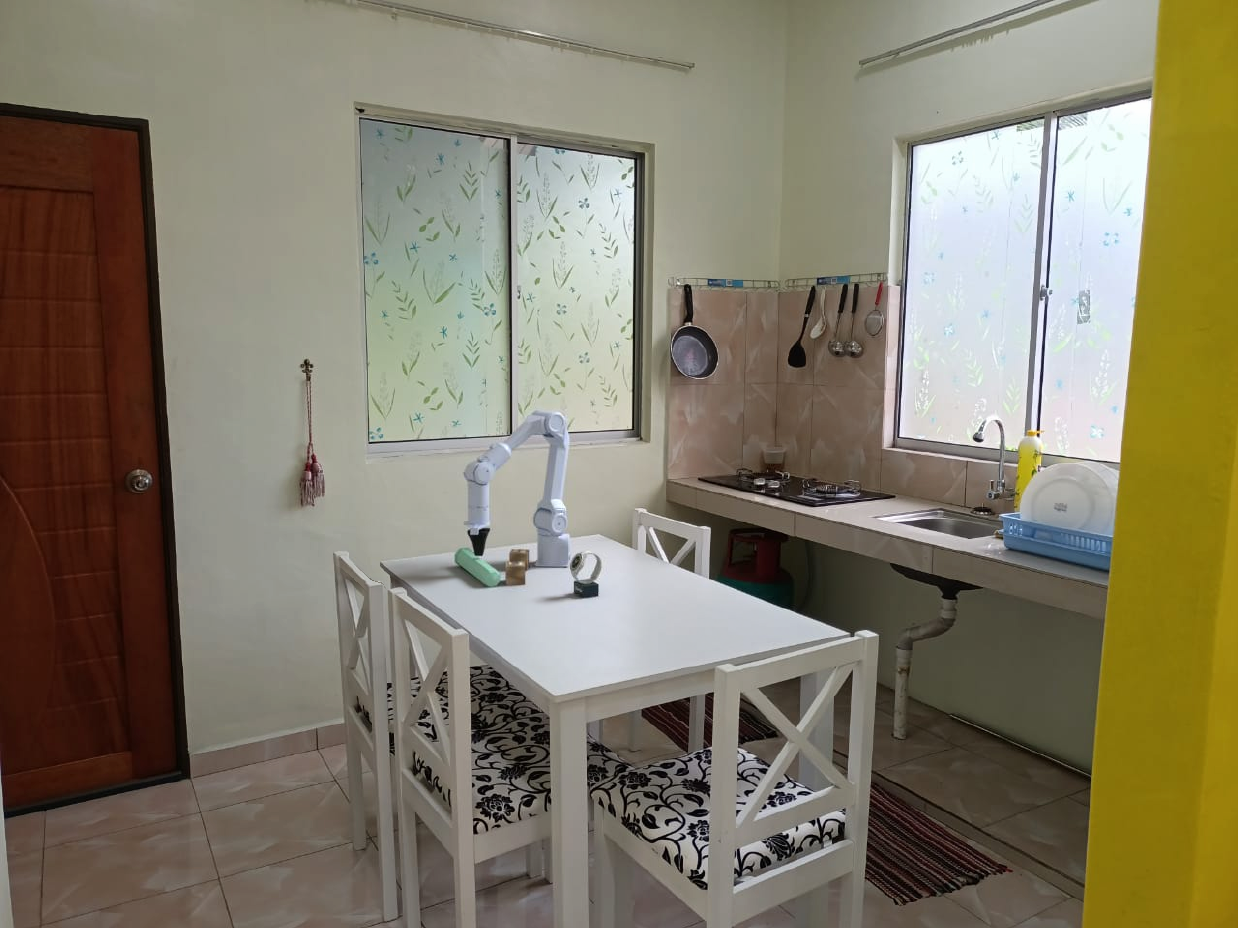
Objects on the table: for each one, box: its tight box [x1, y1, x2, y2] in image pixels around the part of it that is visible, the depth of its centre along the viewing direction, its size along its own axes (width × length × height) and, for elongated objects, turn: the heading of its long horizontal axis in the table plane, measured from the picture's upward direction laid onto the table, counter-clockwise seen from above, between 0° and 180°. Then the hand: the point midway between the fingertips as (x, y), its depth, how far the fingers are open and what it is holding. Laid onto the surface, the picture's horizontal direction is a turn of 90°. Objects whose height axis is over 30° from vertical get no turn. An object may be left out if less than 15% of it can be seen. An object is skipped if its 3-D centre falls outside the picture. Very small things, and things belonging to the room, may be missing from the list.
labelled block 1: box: [508, 548, 530, 572], centre depth 254 cm, size 5×5×5 cm
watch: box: [569, 550, 603, 599], centre depth 229 cm, size 6×8×11 cm
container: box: [454, 547, 501, 588], centre depth 246 cm, size 6×6×25 cm
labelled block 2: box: [504, 561, 526, 586], centre depth 240 cm, size 5×5×5 cm
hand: (479, 555), depth 246 cm, fingers closed
